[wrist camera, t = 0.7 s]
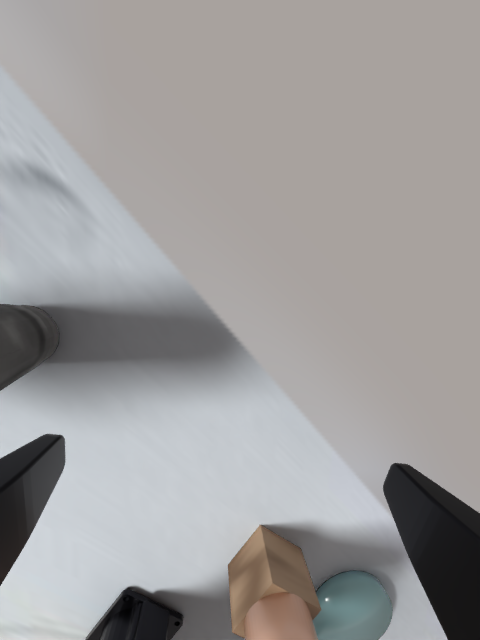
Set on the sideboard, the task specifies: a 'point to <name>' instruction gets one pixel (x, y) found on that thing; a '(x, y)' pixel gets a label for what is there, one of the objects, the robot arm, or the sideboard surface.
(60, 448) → the robot arm
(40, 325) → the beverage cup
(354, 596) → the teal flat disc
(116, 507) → the sideboard surface
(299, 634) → the peach rounded cylinder
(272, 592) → the block
